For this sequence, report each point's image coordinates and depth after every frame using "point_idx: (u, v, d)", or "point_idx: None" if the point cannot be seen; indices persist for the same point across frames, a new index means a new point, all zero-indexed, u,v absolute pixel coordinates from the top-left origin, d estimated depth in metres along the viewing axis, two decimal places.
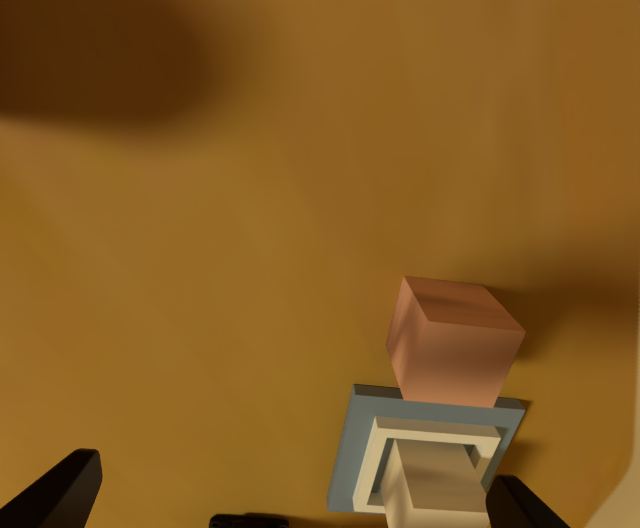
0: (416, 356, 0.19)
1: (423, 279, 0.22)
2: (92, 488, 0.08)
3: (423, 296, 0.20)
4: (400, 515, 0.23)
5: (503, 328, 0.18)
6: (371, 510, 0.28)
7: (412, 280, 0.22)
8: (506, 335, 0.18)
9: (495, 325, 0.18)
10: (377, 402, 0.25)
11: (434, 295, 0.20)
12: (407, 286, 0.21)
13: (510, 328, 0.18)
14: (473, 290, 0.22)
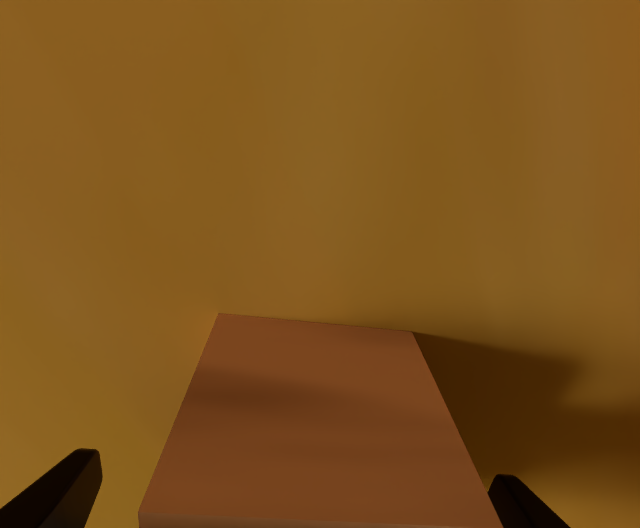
0: None
1: (265, 321, 0.09)
2: (92, 488, 0.08)
3: (217, 381, 0.07)
4: None
5: (422, 520, 0.05)
6: None
7: (231, 325, 0.09)
8: None
9: (400, 501, 0.05)
10: None
11: (260, 372, 0.08)
12: (209, 341, 0.08)
13: (448, 515, 0.05)
14: (381, 349, 0.09)
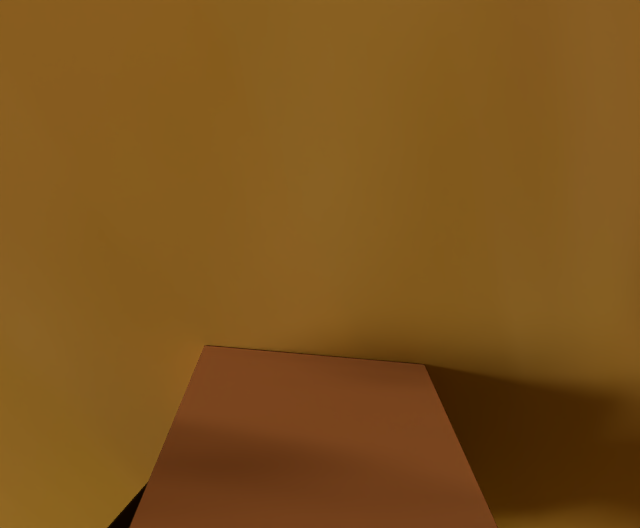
0: None
1: (257, 357, 0.08)
2: None
3: (196, 442, 0.06)
4: None
5: None
6: None
7: (217, 363, 0.08)
8: None
9: None
10: None
11: (249, 428, 0.06)
12: (191, 385, 0.07)
13: None
14: (391, 391, 0.08)
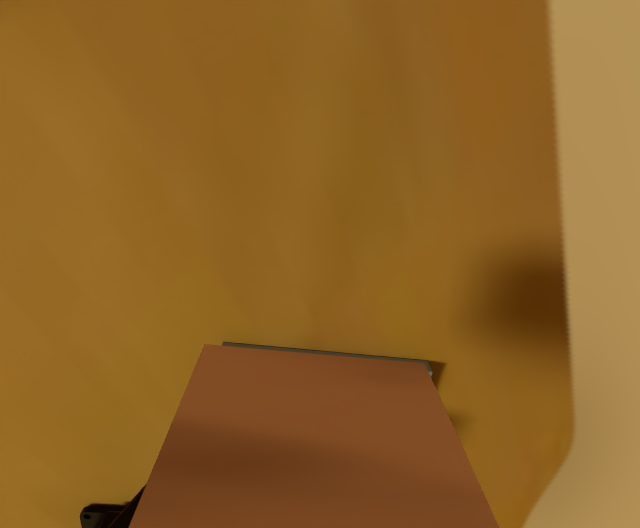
0: None
1: (257, 356, 0.08)
2: None
3: (196, 440, 0.06)
4: None
5: None
6: None
7: (217, 362, 0.08)
8: None
9: None
10: None
11: (249, 426, 0.06)
12: (191, 383, 0.07)
13: None
14: (391, 390, 0.08)
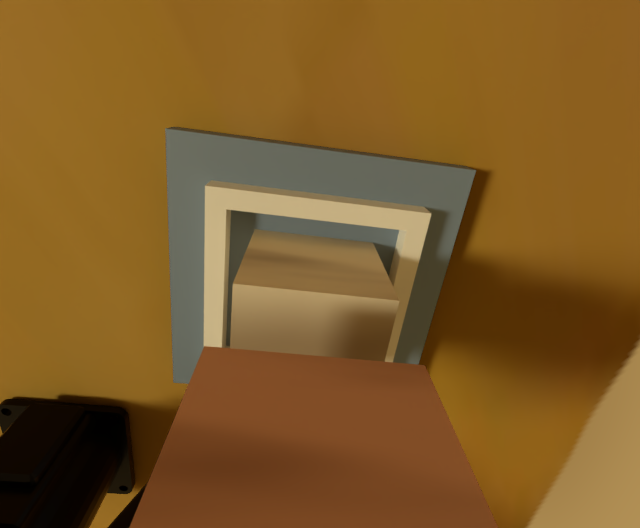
0: None
1: (257, 357, 0.08)
2: None
3: (196, 443, 0.06)
4: None
5: None
6: None
7: (217, 363, 0.08)
8: None
9: None
10: (209, 148, 0.14)
11: (249, 428, 0.06)
12: (190, 386, 0.07)
13: None
14: (391, 392, 0.08)
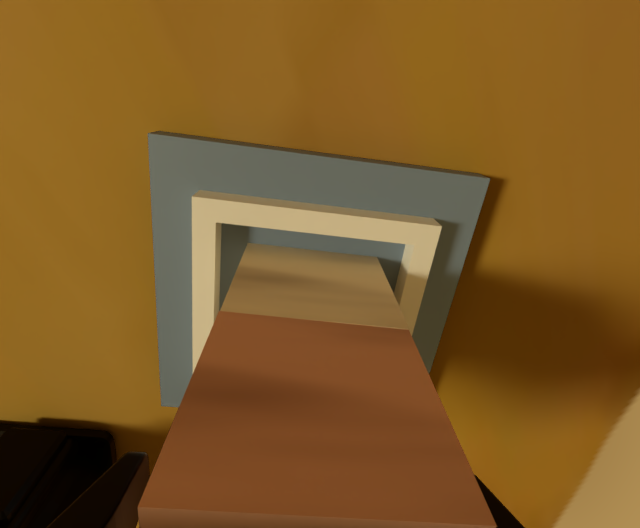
0: None
1: (264, 320, 0.09)
2: (142, 491, 0.08)
3: (216, 379, 0.07)
4: None
5: (415, 516, 0.05)
6: None
7: (230, 324, 0.09)
8: None
9: (394, 498, 0.06)
10: (196, 155, 0.13)
11: (259, 371, 0.08)
12: (208, 341, 0.09)
13: (442, 512, 0.05)
14: (379, 348, 0.09)
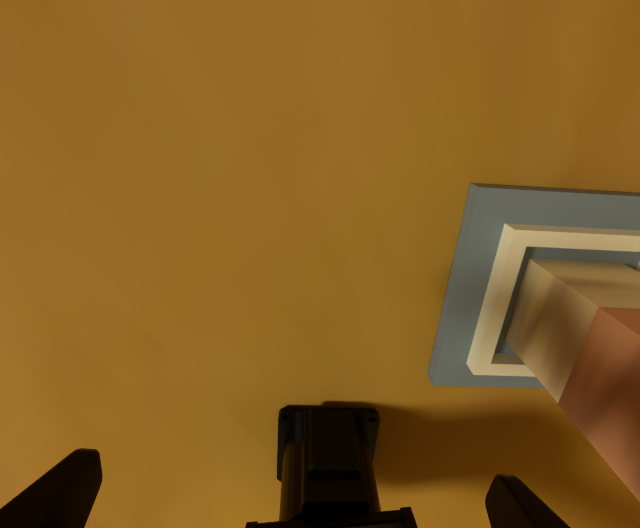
0: None
1: (631, 311, 0.15)
2: (92, 488, 0.08)
3: None
4: (564, 340, 0.16)
5: None
6: (496, 372, 0.21)
7: (618, 314, 0.14)
8: None
9: None
10: (509, 199, 0.18)
11: None
12: (617, 325, 0.14)
13: None
14: None
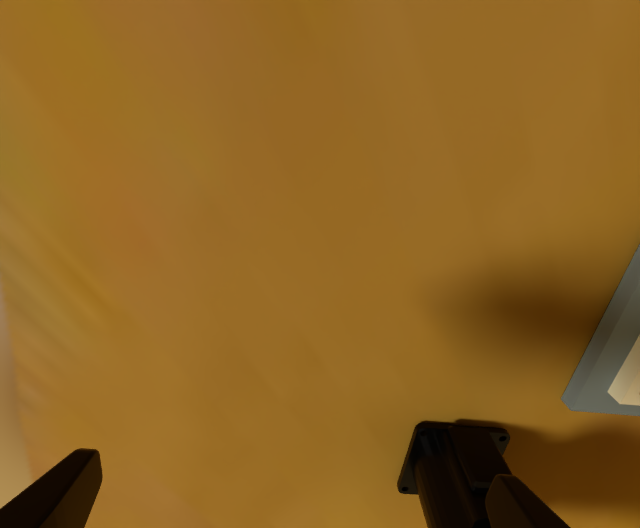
0: None
1: None
2: (92, 488, 0.08)
3: None
4: None
5: None
6: None
7: None
8: None
9: None
10: None
11: None
12: None
13: None
14: None
